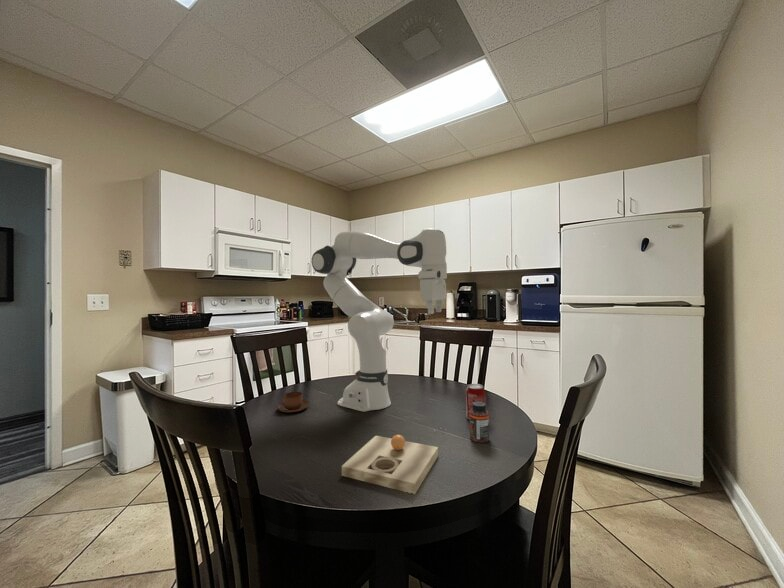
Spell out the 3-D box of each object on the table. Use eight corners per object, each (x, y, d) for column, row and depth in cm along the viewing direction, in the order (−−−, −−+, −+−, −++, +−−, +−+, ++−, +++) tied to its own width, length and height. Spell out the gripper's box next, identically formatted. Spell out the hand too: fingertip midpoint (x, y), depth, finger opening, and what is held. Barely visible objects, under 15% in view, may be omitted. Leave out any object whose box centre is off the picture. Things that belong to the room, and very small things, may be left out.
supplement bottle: (467, 435, 106) (466, 400, 106) (485, 434, 106) (484, 399, 106) (473, 444, 100) (472, 407, 100) (492, 442, 100) (491, 406, 100)
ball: (388, 451, 91) (388, 437, 91) (394, 445, 95) (394, 431, 95) (401, 454, 90) (401, 439, 89) (407, 447, 93) (407, 433, 93)
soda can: (486, 423, 115) (485, 389, 115) (466, 421, 117) (466, 388, 116) (484, 415, 122) (484, 383, 122) (466, 414, 123) (465, 382, 123)
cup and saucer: (271, 413, 130) (270, 397, 129) (291, 403, 141) (290, 388, 141) (296, 416, 125) (295, 400, 125) (314, 406, 136) (314, 391, 136)
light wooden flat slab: (341, 475, 84) (341, 465, 84) (375, 443, 101) (375, 435, 101) (414, 494, 76) (414, 483, 76) (438, 455, 93) (438, 447, 93)
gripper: (434, 275, 127) (434, 310, 127) (416, 273, 109) (417, 314, 109) (450, 274, 125) (450, 311, 125) (434, 272, 106) (435, 315, 106)
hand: (435, 312), depth 117 cm, fingers open, 8 cm apart
